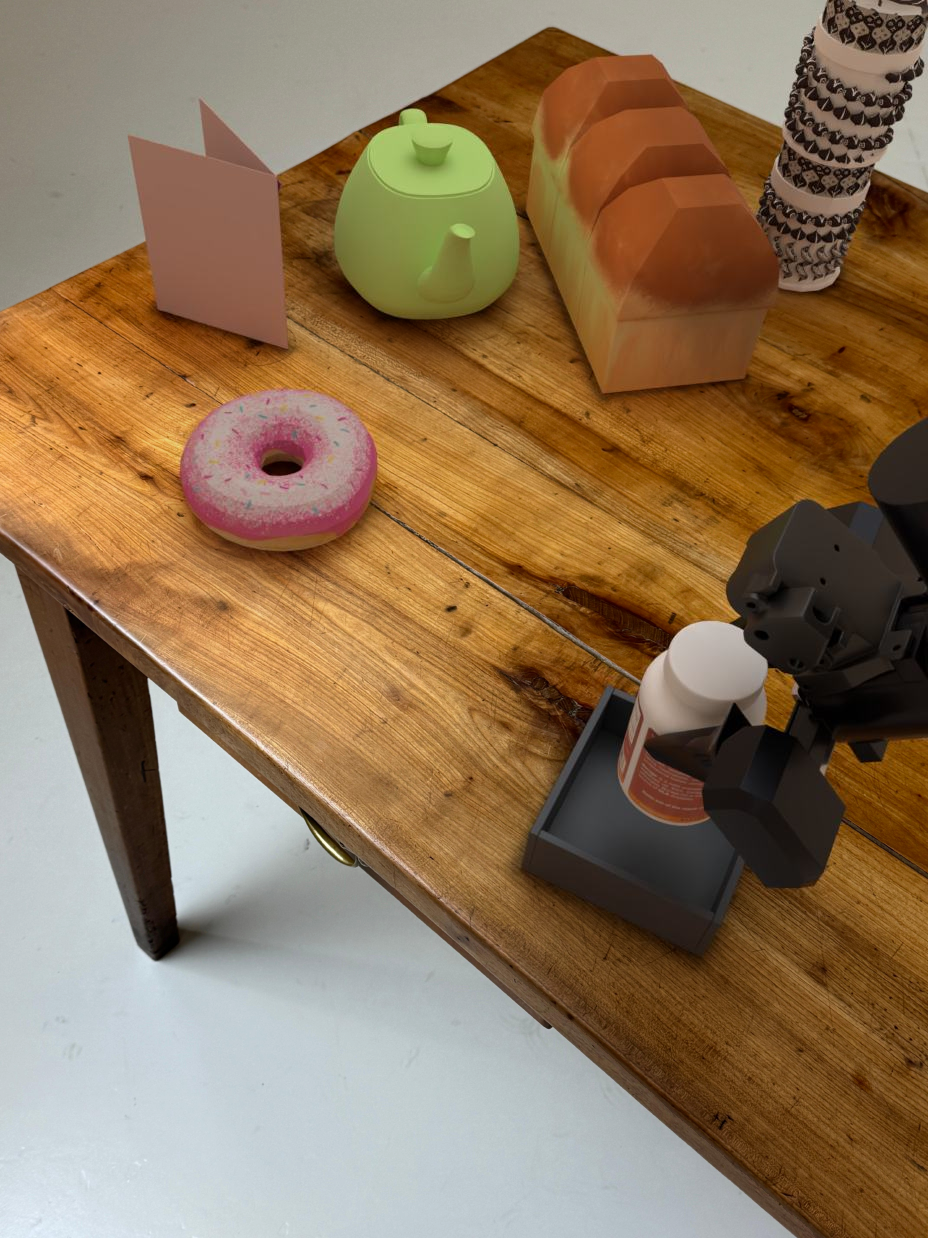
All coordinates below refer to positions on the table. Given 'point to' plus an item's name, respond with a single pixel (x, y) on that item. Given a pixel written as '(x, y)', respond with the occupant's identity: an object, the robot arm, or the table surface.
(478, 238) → the teapot
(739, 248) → the bread
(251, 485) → the donut
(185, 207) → the greeting card
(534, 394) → the table surface
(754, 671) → the pill bottle
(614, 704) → the bin
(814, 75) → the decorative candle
